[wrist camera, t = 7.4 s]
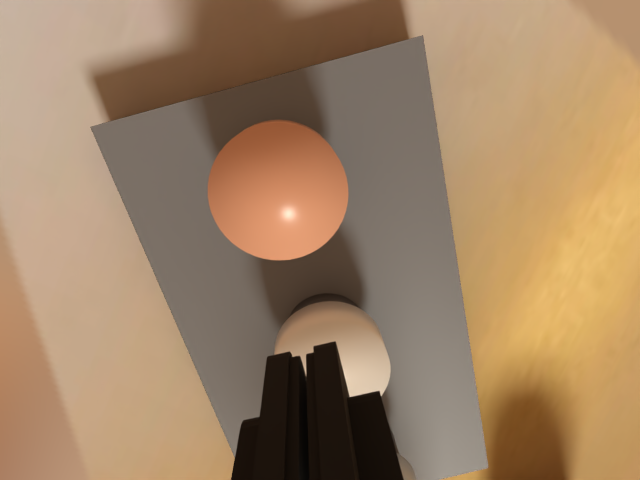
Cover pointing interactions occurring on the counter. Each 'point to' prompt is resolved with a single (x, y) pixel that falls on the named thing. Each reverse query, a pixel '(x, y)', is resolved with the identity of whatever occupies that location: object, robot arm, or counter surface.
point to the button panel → (329, 260)
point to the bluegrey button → (406, 468)
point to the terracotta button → (278, 190)
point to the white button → (340, 342)
